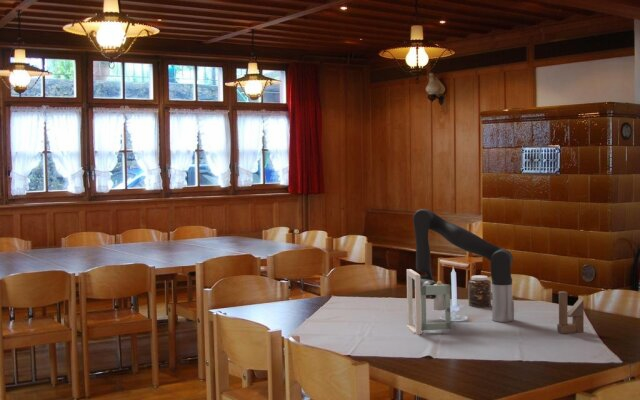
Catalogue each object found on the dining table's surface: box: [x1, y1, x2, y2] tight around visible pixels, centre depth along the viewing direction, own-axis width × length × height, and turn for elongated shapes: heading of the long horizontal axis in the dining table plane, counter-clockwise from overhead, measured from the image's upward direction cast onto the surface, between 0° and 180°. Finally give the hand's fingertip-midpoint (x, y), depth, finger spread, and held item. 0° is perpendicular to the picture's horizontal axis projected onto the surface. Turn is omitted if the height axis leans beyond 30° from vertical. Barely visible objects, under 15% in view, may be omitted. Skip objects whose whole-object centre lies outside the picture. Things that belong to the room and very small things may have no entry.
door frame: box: [406, 268, 423, 336], centre depth 352 cm, size 4×18×26 cm, turn 6°
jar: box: [467, 274, 492, 308], centre depth 405 cm, size 12×12×15 cm
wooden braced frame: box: [556, 290, 585, 335], centre depth 340 cm, size 4×11×18 cm, turn 102°
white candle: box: [433, 280, 446, 311], centre depth 351 cm, size 5×5×13 cm
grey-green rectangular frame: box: [421, 284, 452, 332], centre depth 346 cm, size 13×3×20 cm, turn 96°
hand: (441, 295), depth 349 cm, fingers closed on white candle, 5 cm apart
